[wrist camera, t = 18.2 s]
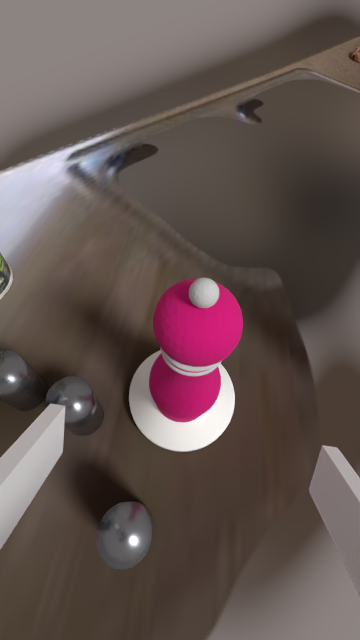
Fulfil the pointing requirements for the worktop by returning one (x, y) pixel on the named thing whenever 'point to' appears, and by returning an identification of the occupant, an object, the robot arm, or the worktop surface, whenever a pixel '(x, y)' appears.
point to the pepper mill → (192, 346)
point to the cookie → (356, 55)
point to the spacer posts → (82, 419)
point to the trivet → (178, 433)
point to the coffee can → (5, 277)
